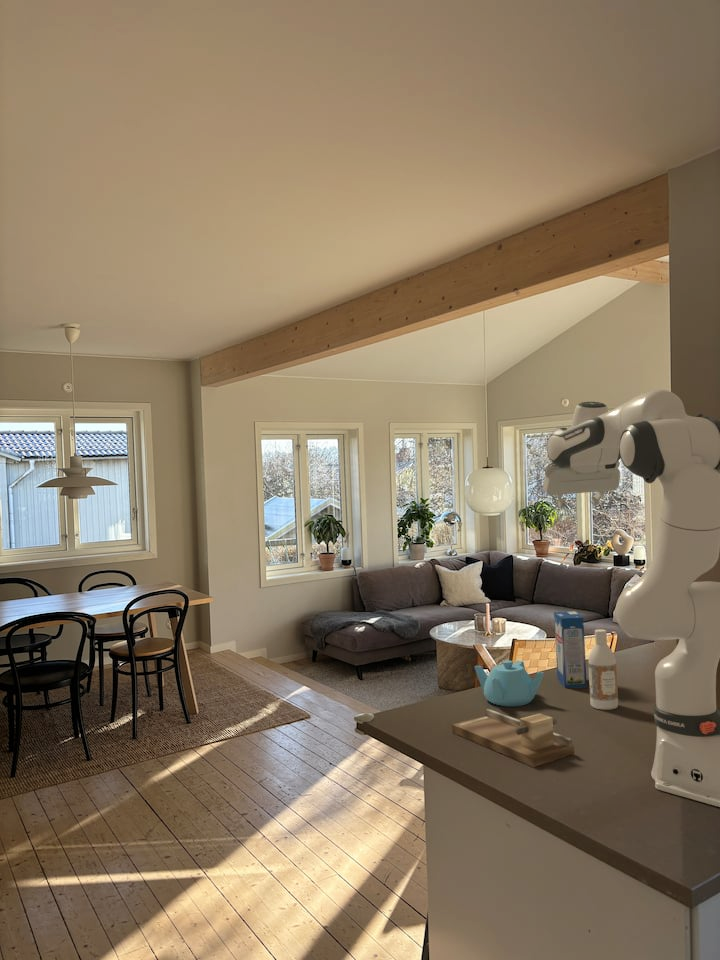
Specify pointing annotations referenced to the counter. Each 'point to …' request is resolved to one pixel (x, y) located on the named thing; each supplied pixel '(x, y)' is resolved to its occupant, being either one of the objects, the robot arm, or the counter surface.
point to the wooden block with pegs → (536, 731)
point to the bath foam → (602, 674)
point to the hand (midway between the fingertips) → (578, 505)
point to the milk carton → (570, 649)
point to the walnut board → (510, 739)
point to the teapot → (508, 684)
